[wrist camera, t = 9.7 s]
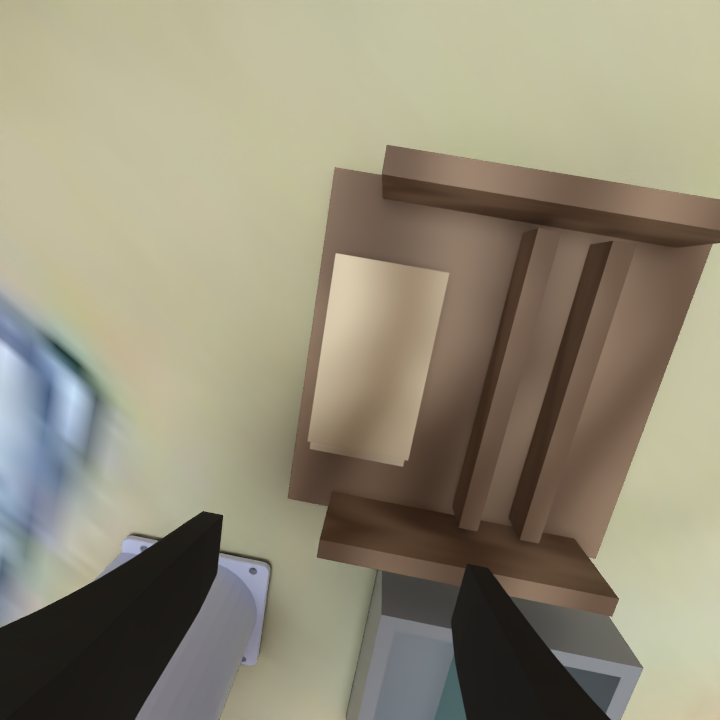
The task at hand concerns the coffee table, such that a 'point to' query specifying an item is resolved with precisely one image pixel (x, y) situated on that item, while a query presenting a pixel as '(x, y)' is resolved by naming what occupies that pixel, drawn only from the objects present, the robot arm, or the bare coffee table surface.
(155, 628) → the robot arm
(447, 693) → the sheet
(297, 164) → the coffee table surface
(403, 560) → the rack
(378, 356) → the offcut upper
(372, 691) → the tote
